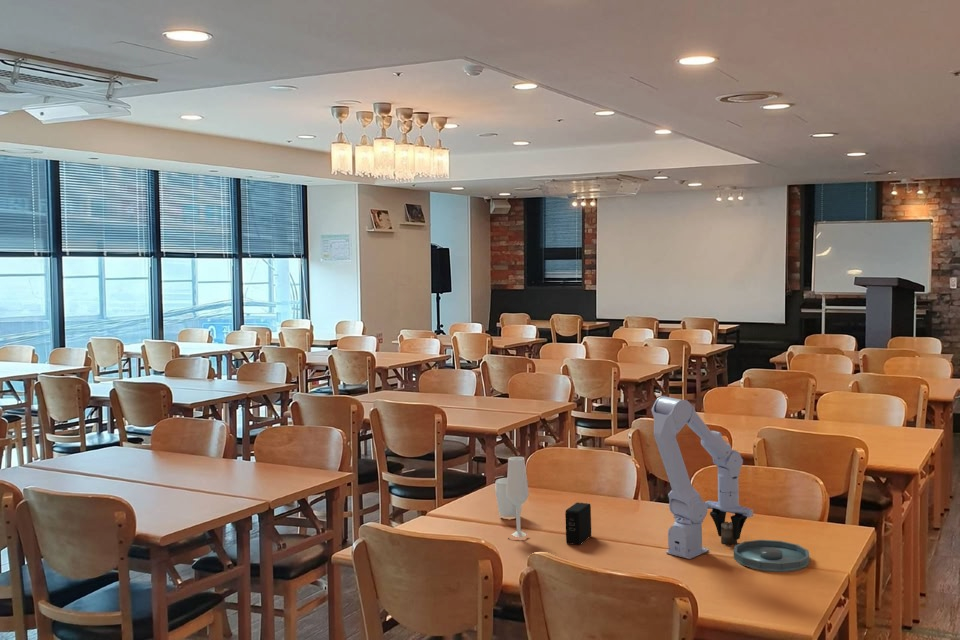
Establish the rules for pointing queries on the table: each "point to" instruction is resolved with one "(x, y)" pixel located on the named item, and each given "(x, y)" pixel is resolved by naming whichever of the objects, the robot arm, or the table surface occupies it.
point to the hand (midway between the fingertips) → (729, 537)
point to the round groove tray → (785, 558)
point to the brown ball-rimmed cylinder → (727, 534)
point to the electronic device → (578, 523)
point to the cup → (504, 499)
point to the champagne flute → (517, 487)
